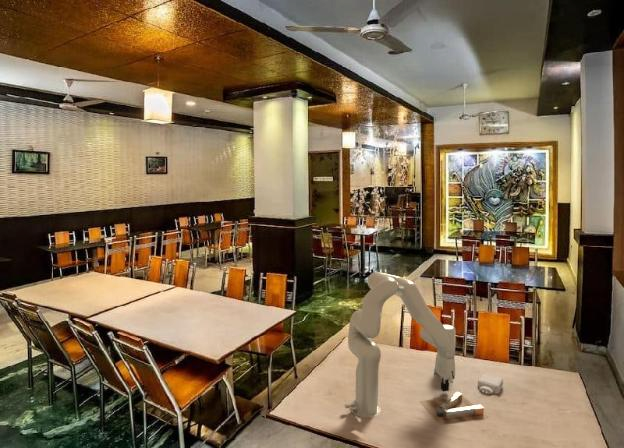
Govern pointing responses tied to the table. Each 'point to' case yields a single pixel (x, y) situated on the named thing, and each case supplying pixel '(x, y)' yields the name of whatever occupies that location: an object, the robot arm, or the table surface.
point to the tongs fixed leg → (464, 412)
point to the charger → (490, 384)
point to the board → (433, 404)
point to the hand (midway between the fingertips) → (444, 390)
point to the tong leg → (449, 404)
